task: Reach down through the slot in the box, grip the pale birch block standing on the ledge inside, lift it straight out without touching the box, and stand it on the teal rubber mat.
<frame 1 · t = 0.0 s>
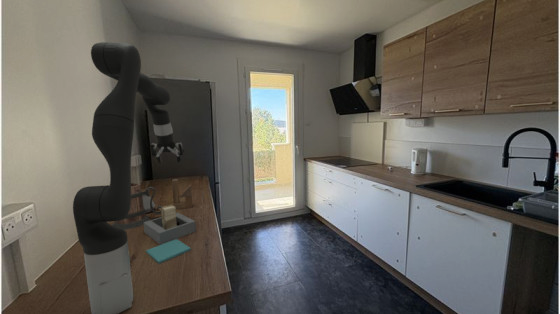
hand: (170, 162, 113), 31 cm above the worktop, tool tilted 20°, fingers open, 8 cm apart
birch block: (169, 227, 106), point 2 cm above the worktop, touching slotted box
coffee pot: (146, 209, 139), on the worktop
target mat: (168, 251, 89), on the worktop
slotted box: (170, 231, 106), on the worktop
tankard: (138, 221, 119), on the worktop
wooden block: (183, 208, 140), on the worktop
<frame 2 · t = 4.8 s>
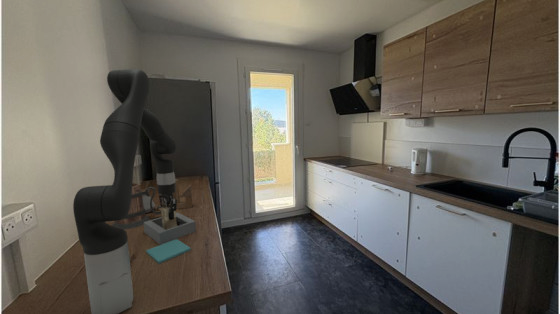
hand: (169, 218, 105), 7 cm above the worktop, tool pointing down, fingers closed on birch block, 4 cm apart
birch block: (169, 227, 106), point 2 cm above the worktop, touching gripper, slotted box
everything else where it was.
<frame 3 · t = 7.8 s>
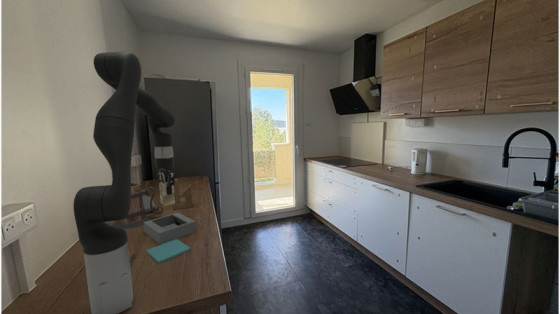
hand: (167, 193, 104), 19 cm above the worktop, tool pointing down, fingers closed on birch block, 4 cm apart
birch block: (167, 203, 105), point 14 cm above the worktop, touching gripper
everything else where it was.
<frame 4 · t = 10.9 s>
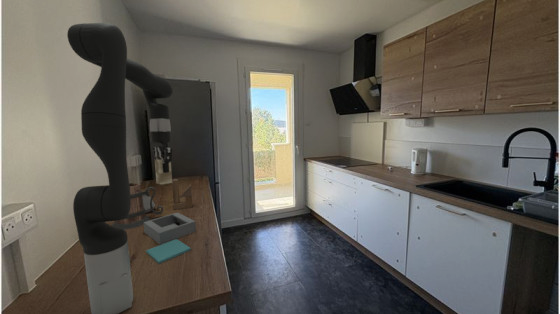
hand: (163, 171, 94), 30 cm above the worktop, tool pointing down, fingers closed on birch block, 4 cm apart
birch block: (164, 183, 95), point 25 cm above the worktop, touching gripper
everything else where it was.
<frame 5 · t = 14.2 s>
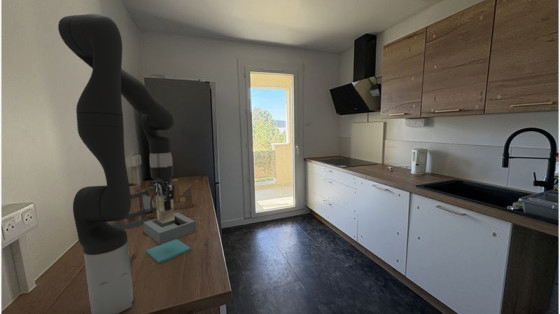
hand: (165, 208, 87), 17 cm above the worktop, tool pointing down, fingers closed on birch block, 4 cm apart
birch block: (166, 220, 88), point 13 cm above the worktop, touching gripper
everything else where it was.
when the fingers open (7 cm above the worktop, at t = 17.0 s): birch block drops 2 cm, resting on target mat.
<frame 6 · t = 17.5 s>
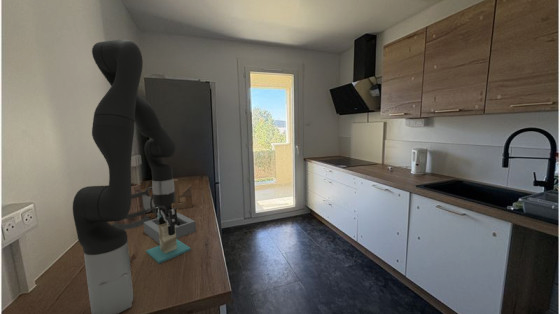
hand: (167, 231, 88), 8 cm above the worktop, tool pointing down, fingers open, 8 cm apart
birch block: (168, 249, 89), point 1 cm above the worktop, touching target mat
everything else where it was.
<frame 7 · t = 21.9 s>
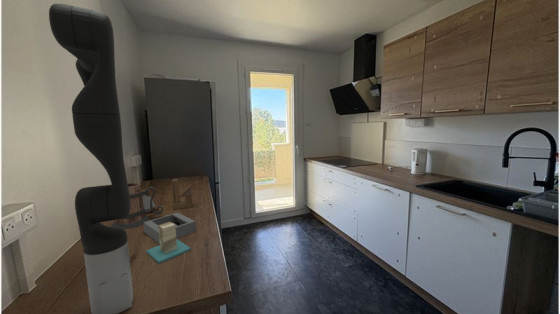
hand: (106, 162, 83), 36 cm above the worktop, tool pointing down, fingers open, 8 cm apart
nothing on the worktop moved.
at the end: birch block inside the target area on the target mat (0.1 cm from its centre), point 0.8 cm above the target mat's base; birch block tilted 0°; birch block touching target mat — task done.
